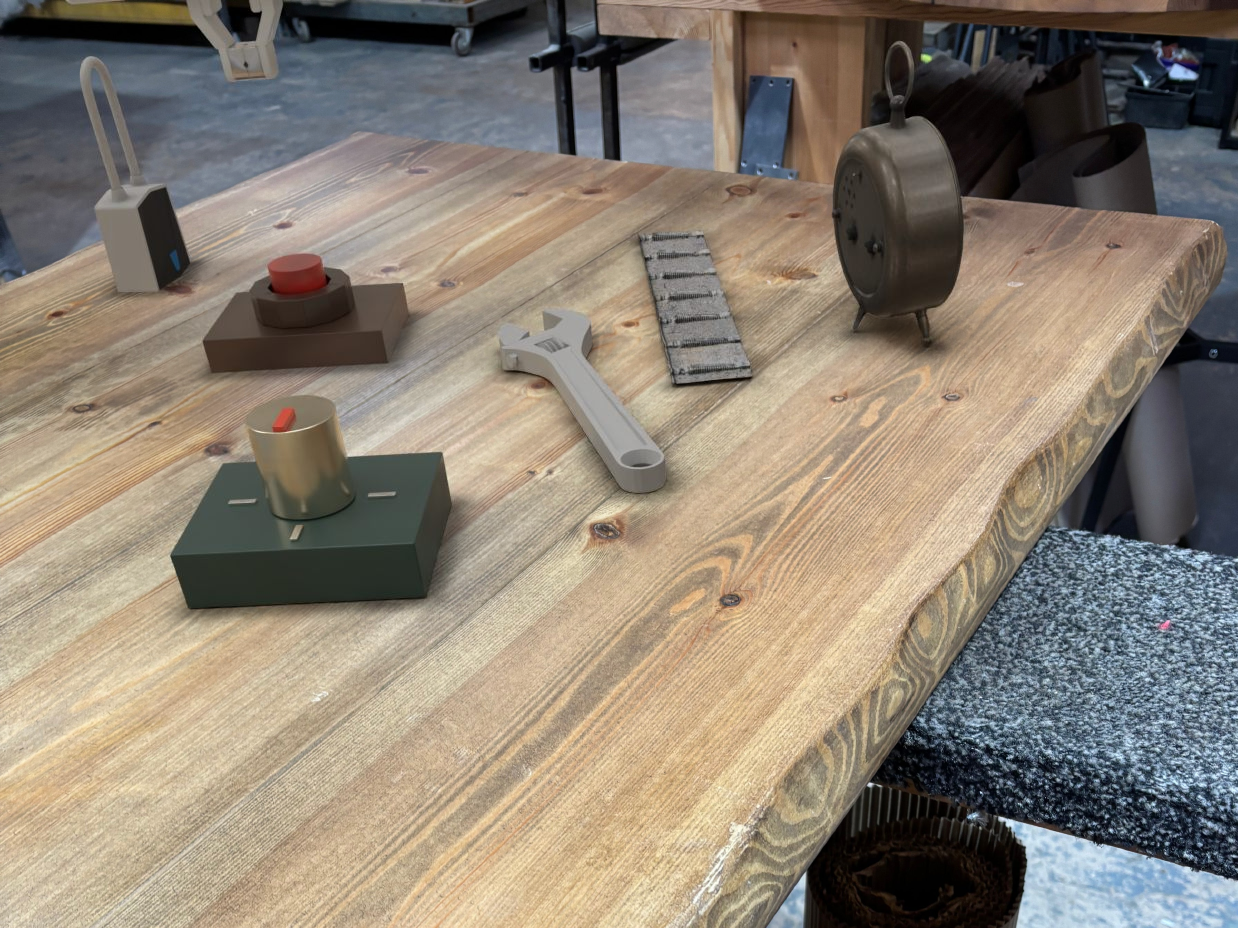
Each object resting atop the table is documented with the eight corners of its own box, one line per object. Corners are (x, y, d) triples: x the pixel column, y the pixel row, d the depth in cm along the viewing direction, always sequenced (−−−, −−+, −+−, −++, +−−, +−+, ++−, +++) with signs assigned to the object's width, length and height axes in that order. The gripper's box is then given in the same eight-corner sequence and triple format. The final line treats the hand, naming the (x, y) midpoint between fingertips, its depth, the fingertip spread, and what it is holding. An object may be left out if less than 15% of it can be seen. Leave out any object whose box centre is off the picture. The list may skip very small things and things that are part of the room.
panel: (187, 609, 66) (167, 551, 64) (237, 513, 74) (221, 459, 71) (425, 598, 66) (413, 539, 63) (452, 502, 73) (442, 448, 71)
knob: (280, 481, 69) (256, 390, 66) (363, 477, 69) (342, 386, 66) (258, 521, 66) (231, 428, 63) (345, 518, 66) (322, 424, 62)
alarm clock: (959, 349, 84) (985, 53, 73) (880, 363, 83) (895, 66, 72) (889, 293, 92) (903, 19, 81) (816, 306, 91) (820, 30, 80)
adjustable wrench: (674, 490, 73) (672, 459, 71) (559, 510, 72) (555, 479, 71) (584, 328, 91) (581, 301, 89) (491, 343, 90) (487, 316, 89)
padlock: (163, 291, 102) (95, 66, 92) (112, 292, 102) (39, 68, 92) (196, 261, 107) (135, 44, 96) (148, 262, 107) (81, 47, 97)
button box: (211, 373, 89) (193, 312, 86) (244, 323, 96) (228, 265, 93) (388, 363, 88) (375, 301, 86) (409, 314, 95) (398, 255, 92)
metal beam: (701, 236, 105) (637, 239, 104) (701, 224, 104) (636, 227, 104) (753, 380, 83) (671, 384, 82) (753, 365, 82) (671, 370, 82)
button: (268, 300, 88) (261, 272, 87) (280, 281, 91) (274, 254, 90) (321, 297, 88) (315, 269, 87) (332, 278, 91) (326, 251, 90)
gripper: (-27, -193, 70) (70, 103, 79) (354, -228, 69) (408, 77, 78) (17, -203, 75) (104, 78, 84) (375, -236, 73) (423, 53, 83)
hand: (253, 78), depth 81 cm, fingers closed
